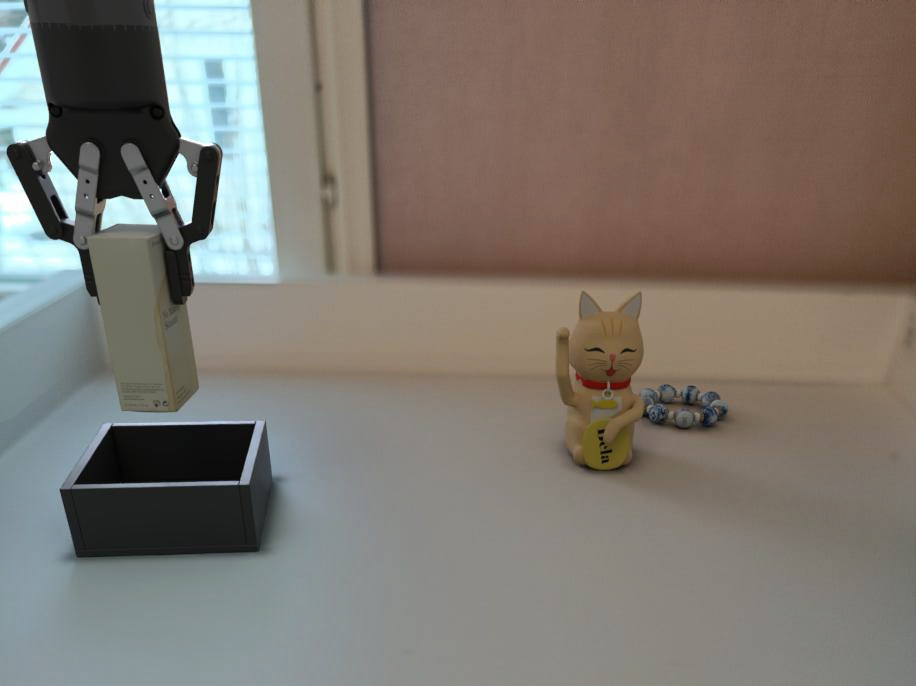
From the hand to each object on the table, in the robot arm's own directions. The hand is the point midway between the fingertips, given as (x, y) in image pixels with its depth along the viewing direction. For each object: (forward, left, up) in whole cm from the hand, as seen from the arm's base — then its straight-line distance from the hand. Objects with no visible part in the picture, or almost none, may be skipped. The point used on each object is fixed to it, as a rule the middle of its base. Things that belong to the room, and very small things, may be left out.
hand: (143, 301), depth 66 cm
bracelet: (+49, +22, -17) cm, 57 cm away
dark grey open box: (0, 0, -17) cm, 17 cm away
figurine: (+37, +11, -17) cm, 42 cm away
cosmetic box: (0, 0, -8) cm, 8 cm away
